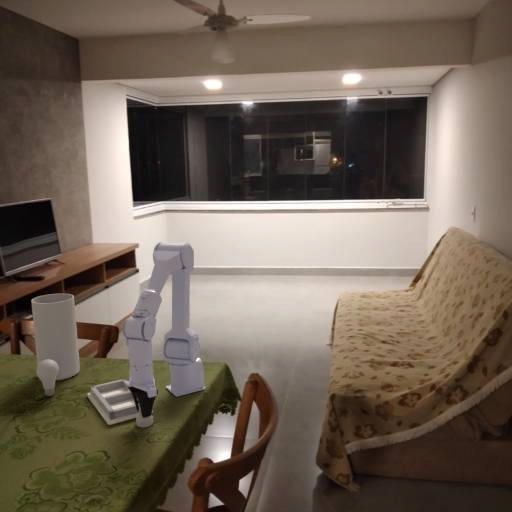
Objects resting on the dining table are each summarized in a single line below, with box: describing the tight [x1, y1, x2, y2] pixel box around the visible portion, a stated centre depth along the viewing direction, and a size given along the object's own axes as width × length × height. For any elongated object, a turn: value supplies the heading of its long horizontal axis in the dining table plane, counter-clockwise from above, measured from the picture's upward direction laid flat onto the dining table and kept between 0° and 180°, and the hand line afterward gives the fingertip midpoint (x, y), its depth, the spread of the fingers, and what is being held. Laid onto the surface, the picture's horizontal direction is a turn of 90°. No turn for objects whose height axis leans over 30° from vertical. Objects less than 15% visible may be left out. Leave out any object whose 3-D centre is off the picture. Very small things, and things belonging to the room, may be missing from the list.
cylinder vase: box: [31, 293, 81, 382], centre depth 168 cm, size 12×12×25 cm
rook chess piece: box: [135, 399, 155, 429], centre depth 135 cm, size 4×4×8 cm
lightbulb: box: [36, 359, 59, 397], centre depth 153 cm, size 6×6×11 cm
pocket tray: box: [87, 378, 154, 426], centre depth 147 cm, size 12×21×3 cm, turn 32°
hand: (144, 413), depth 135 cm, fingers closed on rook chess piece, 3 cm apart
